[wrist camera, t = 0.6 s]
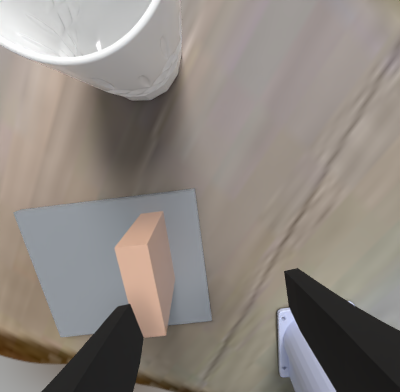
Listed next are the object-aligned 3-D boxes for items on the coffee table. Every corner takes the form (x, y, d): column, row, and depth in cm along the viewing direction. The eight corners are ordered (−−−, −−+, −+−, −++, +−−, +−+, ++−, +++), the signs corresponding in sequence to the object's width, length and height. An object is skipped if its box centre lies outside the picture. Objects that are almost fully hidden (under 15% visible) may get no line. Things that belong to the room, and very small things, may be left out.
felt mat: (211, 314, 22) (211, 320, 21) (65, 330, 22) (60, 337, 21) (194, 188, 18) (194, 190, 18) (21, 209, 19) (13, 212, 18)
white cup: (94, 110, 17) (-49, 67, 7) (76, -9, 15) (-162, -304, 5) (191, 108, 17) (183, 62, 7) (187, -11, 15) (167, -308, 5)
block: (175, 278, 20) (166, 335, 14) (153, 281, 20) (136, 338, 14) (163, 211, 18) (147, 244, 12) (139, 213, 18) (112, 248, 12)
